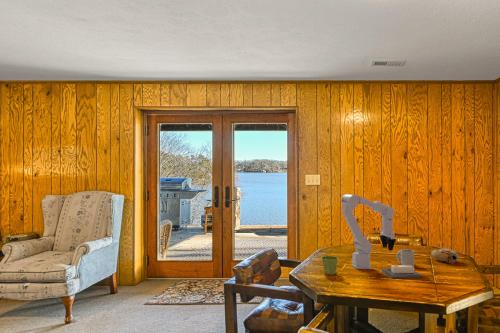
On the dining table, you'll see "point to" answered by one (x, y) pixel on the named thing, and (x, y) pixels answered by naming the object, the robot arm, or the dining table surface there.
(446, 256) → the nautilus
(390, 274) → the keyhole plate
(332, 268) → the plant pot
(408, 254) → the cup
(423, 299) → the dining table surface
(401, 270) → the power strip
